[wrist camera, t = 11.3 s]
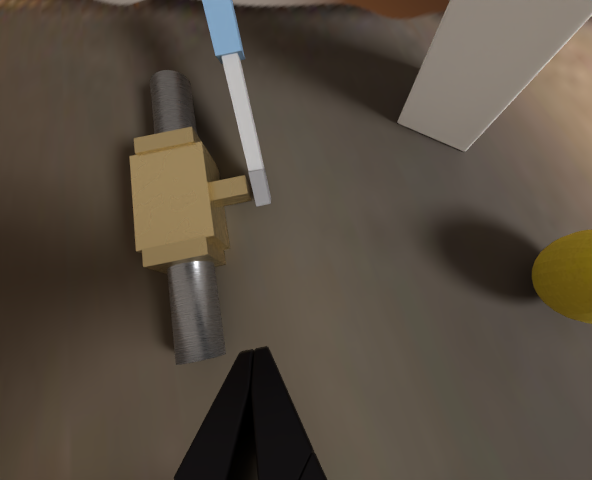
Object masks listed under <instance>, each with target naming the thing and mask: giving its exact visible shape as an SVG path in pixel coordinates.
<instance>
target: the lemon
mask: <svg viewBox="0 0 592 480" xmlns="http://www.w3.org/2000/svg"><path fill="white" fill-rule="evenodd" d="M532 281H533V286H534V288H535V290H536V292H537V294H538V296H539V297H540V298H541V299H542V301H543V302H544V303H545V304H547V305H548V306H549V307H550V308H552V309H553V310H554V311H556V312H558V313H560V314H562V315H564V316H566V317H568V318H571V319H574V320H578V321H582V322H586V323H591V324H592V230H584V231H579V232H575V233H572V234H570V235H567V236H564V237H562V238H560V239H557V240H556V241H554V242H552V243H551V244H550V245H548V246H547V247H546V248H545V249H543V250H542V251H541V253H540V254H539V255H538V257H537V258H536V259H535V262H534V265H533V268H532Z"/></svg>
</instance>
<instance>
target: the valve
mask: <svg viewBox="0 0 592 480" xmlns="http://www.w3.org/2000/svg"><path fill="white" fill-rule="evenodd" d="M150 90H151V101H152V111H153V122H154V133H155V134H153V135H148V136H143V137H138V138H134V148H135V154H136V155H133V156H130V170H131V185H132V199H133V214H134V229H135V243H136V251H137V252H139V253H142V257H143V267H144V268H148V269H151V270H155V271H158V272H162V273H165V274H168V285H169V296H170V307H171V318H172V328H173V339H174V350H175V361H176V365H180V364H186V363H191V362H196V361H201V360H205V359H210V358H214V357H217V356H221V355H224V354H226V351H225V343H224V336H223V328H222V320H221V313H220V305H219V297H218V290H217V282H216V274H215V267H217V266H222V265H226V262H225V254H224V250H225V249H230V244H229V237H228V230H227V223H226V216H225V210H224V206H227V205H232V204H237V203H242V202H247V201H252V200H251V194H250V188H249V183H248V181H247V179H246V177H245V175H243V176H238V177H233V178H228V179H223V180H220V175H219V168H218V166H217V165H216V163H215V162H214V160H213V158H212V157H211V155H210V154H209V152H208V151H207V149H206V147H205V146H204V144H203V143H202V141H201V140H200V139H199V137H198V135H197V129H196V122H195V114H194V106H193V99H192V91H191V84H190V81H189V80H188V79H187V78H186V77H185V76H184V75H183V74H181V73H179V72H176V71H172V70H163V71H159V72H157V73H155V74H154V75H153V76H152V77H151V79H150Z"/></svg>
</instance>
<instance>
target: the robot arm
mask: <svg viewBox="0 0 592 480" xmlns="http://www.w3.org/2000/svg"><path fill="white" fill-rule="evenodd" d="M174 480H327V478H326V476H325V474H324V472H323V470H322V467H321V465H320V463H319V461H318V458H317V456H316V454H315V453H314V450H313V447H312V445H311V443H310V440H309V438H308V436H307V434H306V431H305V429H304V427H303V425H302V422H301V420H300V418H299V415H298V413H297V411H296V409H295V406H294V404H293V402H292V400H291V397H290V395H289V393H288V390H287V388H286V386H285V384H284V381H283V379H282V377H281V375H280V372H279V370H278V368H277V365H276V363H275V361H274V359H273V356H272V354H271V352H270V350H269V348H268V347H267V346H265V347H260V348H256V349H255V350H253V349H250V350H245V351H241V352H240V353H239V355H238V356H237V358H236V360H235V362H234V364H233V366H232V368H231V370H230V372H229V374H228V375H227V377H226V379H225V381H224V383H223V385H222V387H221V389H220V391H219V393H218V394H217V396H216V398H215V400H214V402H213V404H212V406H211V408H210V410H209V412H208V413H207V415H206V417H205V419H204V421H203V423H202V425H201V427H200V429H199V431H198V432H197V434H196V436H195V438H194V440H193V442H192V444H191V446H190V448H189V450H188V451H187V453H186V455H185V457H184V459H183V461H182V463H181V465H180V467H179V469H178V470H177V472H176V474H175V476H174Z"/></svg>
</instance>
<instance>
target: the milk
mask: <svg viewBox="0 0 592 480" xmlns="http://www.w3.org/2000/svg"><path fill="white" fill-rule="evenodd" d="M591 16H592V0H450V2H449V4H448V6H447V9H446V11H445V13H444V15H443V18H442V20H441V22H440V25H439V27H438V29H437V32H436V34H435V36H434V38H433V41H432V43H431V45H430V48H429V50H428V52H427V54H426V57H425V59H424V61H423V64H422V66H421V68H420V71H419V73H418V75H417V77H416V80H415V82H414V84H413V87H412V89H411V91H410V94H409V96H408V98H407V100H406V103H405V105H404V107H403V110H402V112H401V114H400V116H399V119H398V121H397V123H398V124H401V125H403V126H405V127H408V128H410V129H412V130H415V131H417V132H419V133H422V134H424V135H426V136H429V137H431V138H433V139H436V140H438V141H440V142H443V143H445V144H447V145H450V146H452V147H454V148H457V149H459V150H461V151H464V152H465V151H466V150H467V149H468V148H469V147H470V146H471V145H472V144H473V143H474V142H475V141H476V140H477V138H478V137H479V136H480V135H481V134H482V133H483V132H484V131H485V130H486V129H487V128H488V127H489V126H490V124H491V123H492V122H493V121H494V120H495V119H496V118H497V117H498V116H499V115H500V114H501V113H502V112H503V110H504V109H505V108H506V107H507V106H508V105H509V104H510V103H511V102H512V101H513V100H514V99H515V98H516V96H517V95H518V94H519V93H520V92H521V91H522V90H523V89H524V88H525V87H526V86H527V85H528V84H529V82H530V81H531V80H532V79H533V78H534V77H535V76H536V75H537V74H538V73H539V72H540V71H541V70H542V68H543V67H544V66H545V65H546V64H547V63H548V62H549V61H550V60H551V59H552V58H553V57H554V56H555V54H556V53H557V52H558V51H559V50H560V49H561V48H562V47H563V46H564V45H565V44H566V43H567V42H568V40H569V39H570V38H571V37H572V36H573V35H574V34H575V33H576V32H577V31H578V30H579V29H580V28H581V26H582V25H583V24H584V23H585V22H586V21H587V20H588V19H589V18H590V17H591Z"/></svg>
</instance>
